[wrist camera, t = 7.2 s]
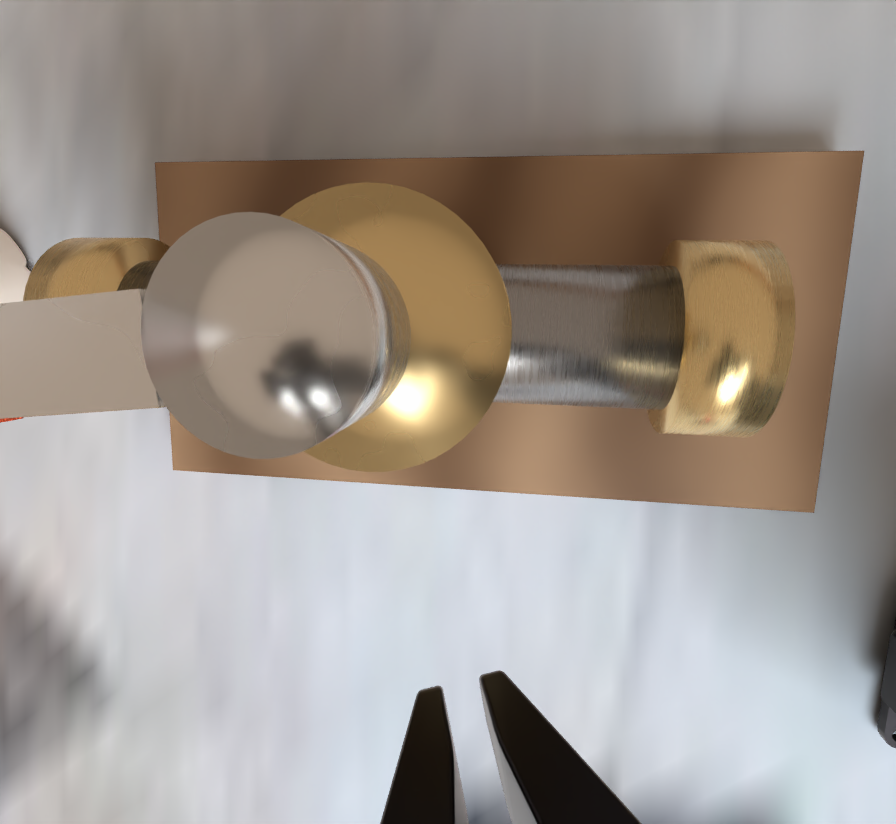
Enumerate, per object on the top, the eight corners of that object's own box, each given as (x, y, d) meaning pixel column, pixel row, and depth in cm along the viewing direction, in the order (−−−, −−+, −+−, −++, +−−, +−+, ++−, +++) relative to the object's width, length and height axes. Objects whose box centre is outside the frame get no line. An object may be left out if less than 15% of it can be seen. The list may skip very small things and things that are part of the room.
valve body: (711, 232, 17) (912, 133, 8) (690, 436, 18) (849, 545, 9) (172, 231, 19) (-126, 153, 10) (181, 410, 20) (-82, 477, 12)
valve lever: (405, 233, 9) (349, 191, 6) (422, 418, 10) (377, 458, 7) (-173, 299, 11) (-423, 291, 8) (-136, 452, 12) (-359, 496, 9)
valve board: (836, 165, 17) (864, 151, 16) (792, 497, 19) (814, 512, 18) (181, 174, 20) (154, 162, 19) (196, 460, 22) (173, 470, 21)
